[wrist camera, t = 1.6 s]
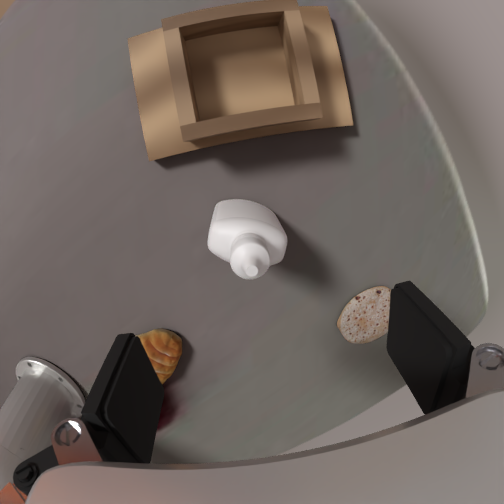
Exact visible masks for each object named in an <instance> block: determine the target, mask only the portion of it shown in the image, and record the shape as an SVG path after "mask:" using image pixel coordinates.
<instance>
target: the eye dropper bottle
mask: <svg viewBox="0 0 504 504" xmlns="http://www.w3.org/2000/svg"><path fill="white" fill-rule="evenodd" d="M286 247H287V236H286V233H285V231H284V229H283V228H282V226H281V224H280V222H279V220H278V218H277V217H276V215H275V213H274V212H273V211H271V210H270V209H269V208H267V207H265V206H263V205H261V204H259V203H256V202H253V201H249V200H243V199H230V200H224V201H221V202H219V203H217V204H216V206H215V209H214V213H213V217H212V221H211V225H210V230H209V236H208V248H209V250H210V251H211V252H212V253H213V254H215V255H216V256H218V257H219V258H221V259H223V260H225V261H227V262H229V263H230V264H231V268H232V270H233V271H234V272H235V273H236V274H237V276H239V277H241V278H244V279H255V278H259V277H261V276H262V275H263V274H264V273H266V271H267V270H268V268H269V266H270V265H274V264H277V263H279V262H281V261H282V259H283V257H284V254H285V251H286Z"/></svg>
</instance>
